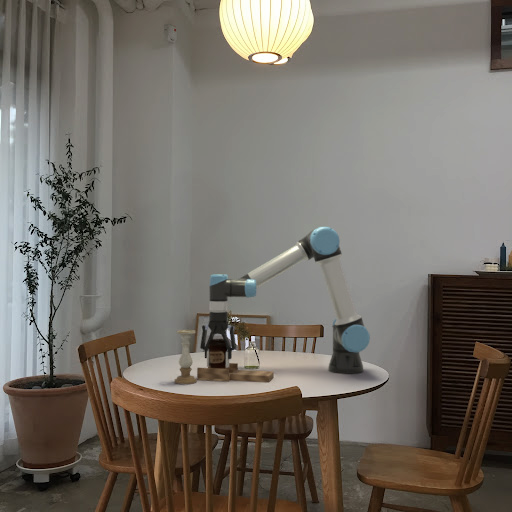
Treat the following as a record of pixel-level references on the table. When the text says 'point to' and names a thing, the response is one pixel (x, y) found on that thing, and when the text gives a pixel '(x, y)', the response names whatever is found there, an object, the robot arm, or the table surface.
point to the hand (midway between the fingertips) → (218, 366)
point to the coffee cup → (217, 353)
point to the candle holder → (185, 359)
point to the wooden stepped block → (233, 374)
